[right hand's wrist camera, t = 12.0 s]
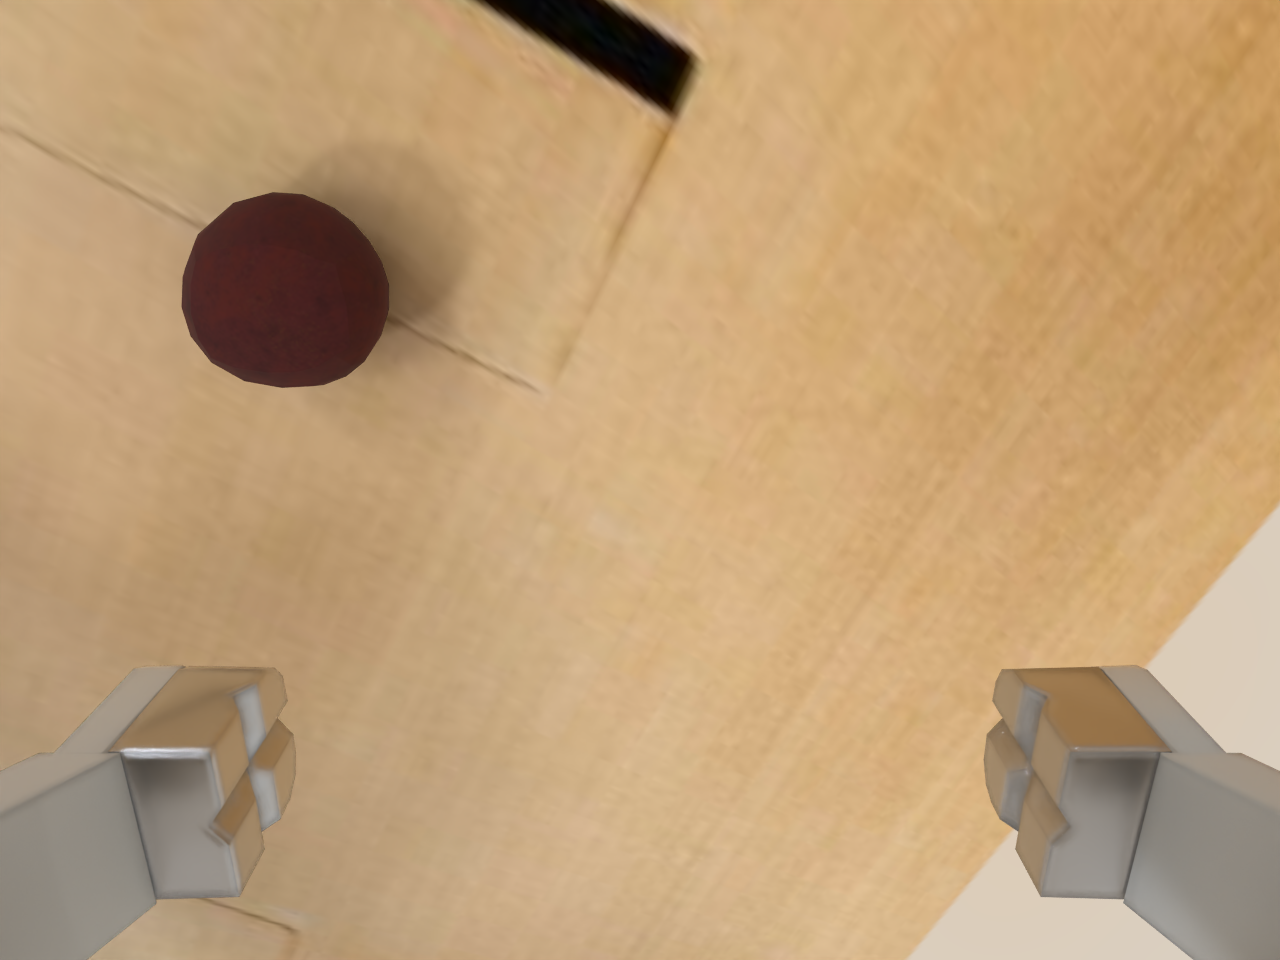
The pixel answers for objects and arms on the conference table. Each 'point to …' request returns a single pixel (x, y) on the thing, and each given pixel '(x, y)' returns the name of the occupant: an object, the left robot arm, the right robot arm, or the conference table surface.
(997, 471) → the conference table surface
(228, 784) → the right robot arm
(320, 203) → the dark red ball
